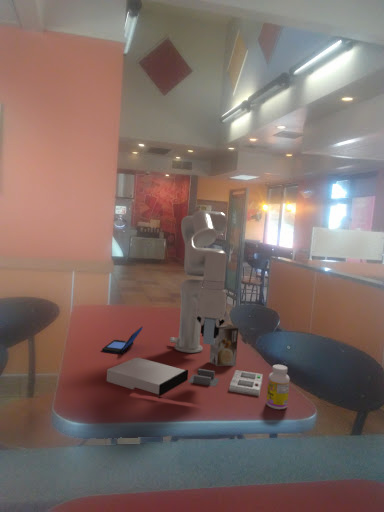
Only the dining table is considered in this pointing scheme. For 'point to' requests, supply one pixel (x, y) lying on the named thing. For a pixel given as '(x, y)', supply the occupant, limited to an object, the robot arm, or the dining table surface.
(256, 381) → the port panel
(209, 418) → the dining table surface
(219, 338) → the coffee box
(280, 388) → the supplement bottle
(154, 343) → the dining table surface
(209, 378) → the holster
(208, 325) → the plug
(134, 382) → the disc drive
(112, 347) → the handheld game console
